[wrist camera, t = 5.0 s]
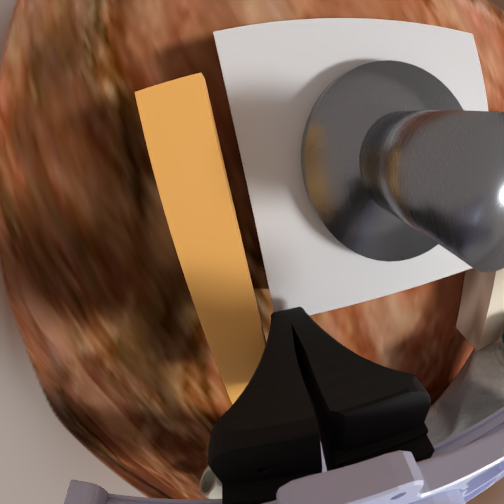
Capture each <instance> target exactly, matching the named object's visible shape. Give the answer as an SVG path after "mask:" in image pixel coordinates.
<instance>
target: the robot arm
mask: <svg viewBox="0 0 504 504" xmlns="http://www.w3.org/2000/svg"><path fill="white" fill-rule="evenodd" d="M430 405H431V398H430V395H429V394H428V392H427V390H426V389H425V387H424V386H423V385H422V384H421V382H420V381H419V380H418V379H417V378H416V377H415V375H413V374H408V373H404V372H400V371H397V370H393V369H390V368H387V367H384V366H381V365H379V364H376V363H374V362H372V361H369V360H367V359H365V358H363V357H361V356H359V355H357V354H356V353H354V352H352V351H351V350H349V349H347V348H346V347H344V346H343V345H342V344H340V343H339V342H337V341H336V340H335V339H334V338H332V337H331V336H330V335H329V334H327V333H326V332H325V331H324V330H323V329H322V328H321V327H320V326H319V325H318V324H316V323H315V322H314V320H313V319H312V318H311V317H310V316H309V315H308V314H307V313H306V312H305V310H304V309H303V308H302V307H295V308H291V309H286V310H282V311H277V312H273V313H272V315H271V326H270V331H269V335H268V339H267V343H266V346H265V349H264V352H263V354H262V357H261V360H260V362H259V364H258V366H257V368H256V370H255V372H254V374H253V376H252V378H251V380H250V381H249V383H248V385H247V386H246V388H245V389H244V391H243V392H242V393H241V395H240V396H239V397H238V399H237V400H236V401H235V403H234V404H233V405H232V406H231V407H230V409H229V410H228V411H227V412H226V413H225V414H224V415H223V416H222V417H221V418H220V419H219V420H218V421H217V422H216V423H215V424H214V427H213V430H212V434H211V438H210V443H209V453H208V465H209V467H210V469H211V470H212V472H213V473H214V474H215V475H216V477H217V478H218V479H219V481H220V482H221V483H222V499H158V498H143V497H132V496H124V495H116V494H109V493H108V492H107V491H106V490H105V489H103V488H102V487H100V486H98V485H96V484H92V483H88V482H82V481H77V480H71V482H70V485H69V488H68V492H67V495H66V499H65V502H64V504H466V502H467V501H469V500H470V499H472V498H473V497H475V496H476V495H478V494H480V493H481V492H483V491H484V490H485V489H487V488H488V487H490V486H491V485H493V484H494V483H495V482H497V481H498V480H499V479H501V478H502V477H503V476H504V407H502V408H501V409H499V410H497V411H496V412H494V413H493V414H491V415H490V416H488V417H486V418H485V419H483V420H481V421H480V422H478V423H476V424H475V425H473V426H471V427H469V428H467V429H466V430H464V431H462V432H460V433H458V434H456V435H454V436H452V437H451V438H449V439H447V440H445V441H443V442H440V443H438V444H436V445H434V446H433V445H432V444H431V442H430V440H429V438H428V436H427V434H428V428H427V426H426V424H425V423H424V422H425V419H426V417H427V414H428V411H429V408H430Z"/></svg>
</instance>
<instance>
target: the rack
mask: <svg viewBox="0 0 504 504" xmlns="http://www.w3.org/2000/svg"><path fill="white" fill-rule="evenodd" d="M456 328H457V329H458V330H459V331H460V333H461V334H462V335H463V336H464V337H465V338H466V339H467V340H468V341H469V343H470V344H471V345H472V346H473V347H474V348H475V349H476V350H477V351H478V350H480V349H482V348H484V347H485V346H487V345H489V344H491V343H493V342H495V341H497V340H498V339H500V338H502V335H503V333H504V268H502V269H500V270H498V271H495V272H489V273H487V272H480V271H477V270H475V269H474V268H471V269H468V270H465V276H464V283H463V290H462V296H461V302H460V308H459V313H458V318H457V323H456Z"/></svg>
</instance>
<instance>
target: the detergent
mask: <svg viewBox="0 0 504 504" xmlns="http://www.w3.org/2000/svg"><path fill="white" fill-rule="evenodd" d="M502 407H504V333H503V335H502V338H500V339H498V340H497V341H495V342H493V343H491V344H489V345H487V346H485V347H484V348H482V349H480V350H478V351H477V350H476V349H475V348H474V349H473V351H472V353H471V354H470V356H469V357H468V359H467V361H466V362H465V364H464V365H463V367H462V368H461V370H460V371H459V373H458V374H457V375H456V377H455V378H454V380H453V381H452V382H451V384H450V385H449V386H448V387H447V389H446V390H445V391H444V392H443V394H442V395H441V396H440V398H439V399H437V401H436V402H434V403H433V404H432V405H431V406H430V408H429V411H428V414H427V417H426V419H425V422H424V423H425V424H426V426H427V428H428V434H427V436H428V438H429V440H430V442H431V444H432V445H433V446H434V445H436V444H438V443H440V442H443V441H445V440H447V439H449V438H451V437H452V436H454V435H456V434H458V433H460V432H462V431H464V430H466V429H467V428H469V427H471V426H473V425H475V424H476V423H478V422H480V421H481V420H483V419H485V418H486V417H488V416H490V415H491V414H493V413H494V412H496V411H497V410H499V409H501V408H502Z"/></svg>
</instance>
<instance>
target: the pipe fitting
mask: <svg viewBox="0 0 504 504" xmlns="http://www.w3.org/2000/svg"><path fill="white" fill-rule="evenodd" d="M200 493H201V494H202V495H203V496H205V497H207V498H210V499H222V483H221V482H220V481H219V479H218V478H217V477H216V475H215V474H214V473H213V472H212V470H211V469H210V467H209V465H208V466H207V467H206V468H205V470H204V471H203V473H202V476H201V479H200Z"/></svg>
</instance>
